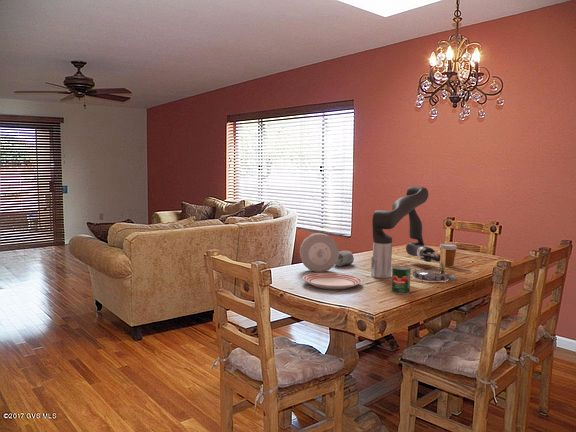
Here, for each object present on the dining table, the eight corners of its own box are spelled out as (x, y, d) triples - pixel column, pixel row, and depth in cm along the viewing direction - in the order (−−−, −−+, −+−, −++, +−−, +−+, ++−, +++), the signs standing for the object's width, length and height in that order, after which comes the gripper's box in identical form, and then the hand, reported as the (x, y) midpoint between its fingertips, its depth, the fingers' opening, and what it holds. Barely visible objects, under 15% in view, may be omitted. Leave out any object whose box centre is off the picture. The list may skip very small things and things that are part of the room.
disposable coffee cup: (444, 267, 256) (445, 246, 254) (435, 264, 265) (435, 243, 264) (459, 267, 258) (460, 245, 257) (449, 263, 267) (450, 243, 266)
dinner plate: (324, 275, 234) (324, 269, 234) (372, 284, 217) (372, 277, 217) (290, 285, 213) (290, 278, 213) (340, 296, 196) (341, 288, 195)
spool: (342, 262, 250) (339, 245, 254) (330, 268, 256) (327, 251, 260) (359, 266, 258) (356, 249, 262) (347, 271, 265) (344, 254, 269)
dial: (300, 273, 236) (300, 235, 234) (298, 269, 248) (299, 232, 246) (340, 274, 237) (340, 235, 235) (336, 269, 249) (337, 232, 247)
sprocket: (421, 281, 219) (422, 252, 218) (407, 273, 236) (408, 246, 235) (454, 280, 222) (456, 251, 220) (438, 272, 238) (439, 246, 237)
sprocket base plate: (419, 283, 220) (420, 281, 220) (407, 275, 237) (407, 273, 237) (454, 282, 221) (454, 281, 221) (440, 274, 238) (440, 273, 238)
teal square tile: (450, 279, 228) (450, 277, 228) (447, 278, 231) (447, 275, 231) (456, 279, 228) (456, 276, 228) (453, 277, 231) (453, 275, 231)
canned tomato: (406, 289, 207) (407, 265, 206) (412, 294, 199) (413, 269, 198) (389, 289, 207) (390, 265, 206) (393, 294, 199) (394, 269, 198)
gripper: (414, 246, 250) (426, 252, 233) (438, 246, 251) (451, 252, 234) (413, 260, 251) (425, 267, 234) (437, 260, 252) (450, 267, 235)
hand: (438, 259), depth 234 cm, fingers closed
